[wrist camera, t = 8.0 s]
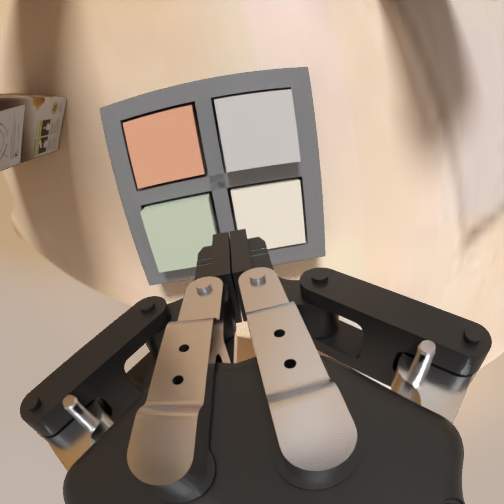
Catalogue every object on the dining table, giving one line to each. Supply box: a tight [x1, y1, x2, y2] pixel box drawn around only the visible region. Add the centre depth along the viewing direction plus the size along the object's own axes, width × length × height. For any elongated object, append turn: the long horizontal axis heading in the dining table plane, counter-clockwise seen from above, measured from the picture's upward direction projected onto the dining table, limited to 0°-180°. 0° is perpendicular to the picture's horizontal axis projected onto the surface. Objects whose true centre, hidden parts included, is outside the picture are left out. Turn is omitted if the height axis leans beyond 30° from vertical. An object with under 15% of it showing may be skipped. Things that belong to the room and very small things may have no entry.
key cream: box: [231, 177, 306, 249], centre depth 29 cm, size 6×6×2 cm
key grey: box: [214, 89, 301, 172], centre depth 24 cm, size 6×6×2 cm
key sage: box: [140, 192, 219, 273], centre depth 28 cm, size 6×6×2 cm
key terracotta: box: [123, 105, 206, 189], centre depth 25 cm, size 6×6×2 cm
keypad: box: [100, 67, 325, 285], centre depth 27 cm, size 19×19×3 cm
